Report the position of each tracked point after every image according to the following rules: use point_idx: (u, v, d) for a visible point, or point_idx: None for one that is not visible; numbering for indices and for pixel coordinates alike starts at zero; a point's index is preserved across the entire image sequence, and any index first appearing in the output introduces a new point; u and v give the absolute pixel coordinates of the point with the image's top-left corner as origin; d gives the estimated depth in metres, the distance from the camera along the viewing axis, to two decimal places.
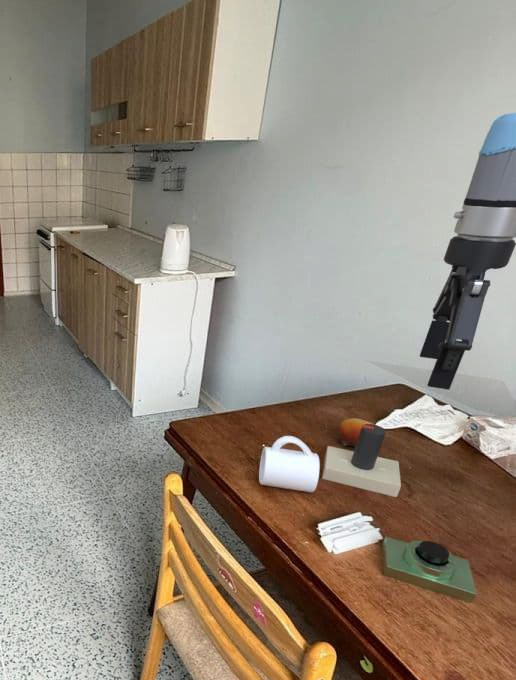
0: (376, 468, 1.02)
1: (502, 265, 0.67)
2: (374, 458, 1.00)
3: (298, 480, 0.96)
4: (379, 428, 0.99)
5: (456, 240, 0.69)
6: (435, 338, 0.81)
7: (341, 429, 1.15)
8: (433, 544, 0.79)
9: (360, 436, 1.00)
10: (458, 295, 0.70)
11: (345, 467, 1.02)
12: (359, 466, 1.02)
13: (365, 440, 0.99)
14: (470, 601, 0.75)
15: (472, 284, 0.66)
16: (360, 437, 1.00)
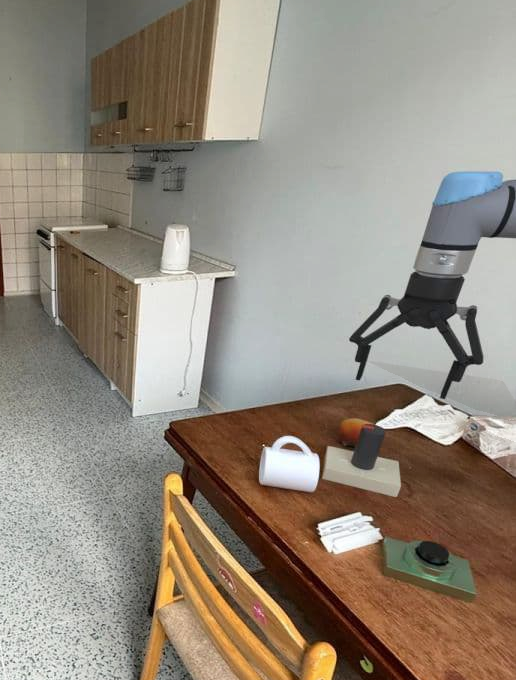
0: (376, 468, 1.02)
1: None
2: (374, 458, 1.00)
3: (298, 480, 0.96)
4: (379, 428, 0.99)
5: (446, 280, 0.77)
6: (366, 361, 0.91)
7: (341, 429, 1.15)
8: (433, 544, 0.79)
9: (360, 436, 1.00)
10: None
11: (345, 467, 1.02)
12: (359, 466, 1.02)
13: (365, 440, 0.99)
14: (470, 601, 0.75)
15: (476, 312, 0.78)
16: (360, 437, 1.00)
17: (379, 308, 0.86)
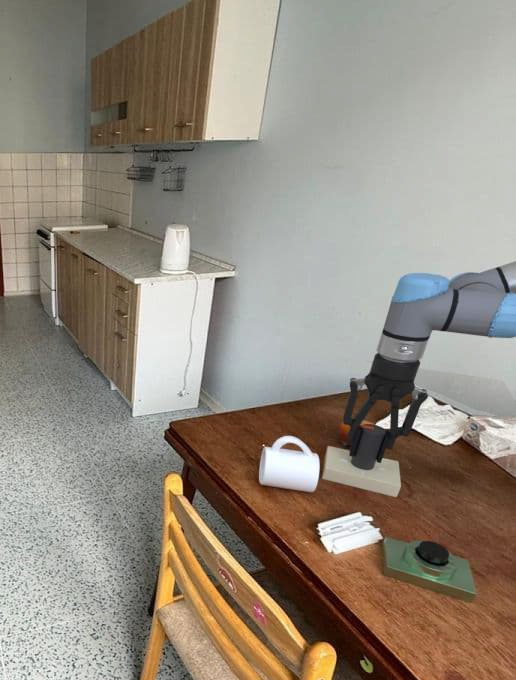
0: (376, 468, 1.02)
1: None
2: (374, 458, 1.00)
3: (298, 480, 0.96)
4: (379, 428, 0.99)
5: (407, 365, 0.88)
6: None
7: (341, 429, 1.15)
8: (433, 544, 0.79)
9: (360, 436, 1.00)
10: (402, 397, 0.93)
11: (345, 467, 1.02)
12: (359, 466, 1.02)
13: (365, 440, 0.99)
14: (470, 601, 0.75)
15: None
16: (360, 437, 1.00)
17: (352, 391, 0.97)
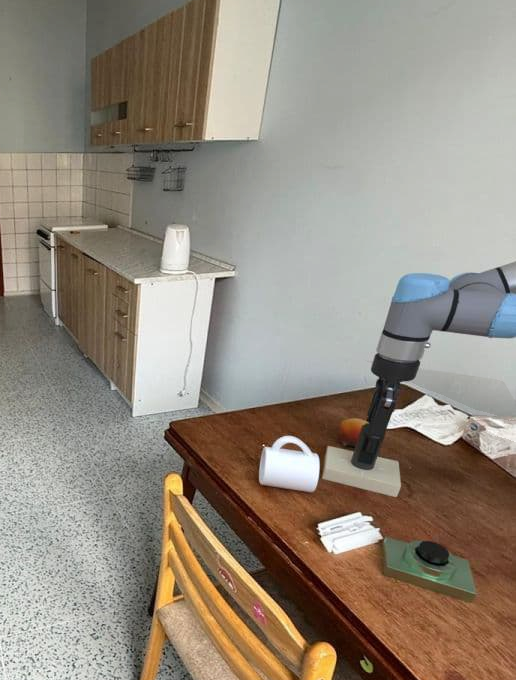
0: (376, 468, 1.02)
1: None
2: None
3: (298, 480, 0.96)
4: (368, 425, 1.00)
5: None
6: None
7: (341, 429, 1.15)
8: (433, 544, 0.79)
9: None
10: None
11: (345, 467, 1.02)
12: (373, 466, 1.02)
13: (381, 442, 0.98)
14: (470, 601, 0.75)
15: None
16: None
17: (393, 408, 0.90)
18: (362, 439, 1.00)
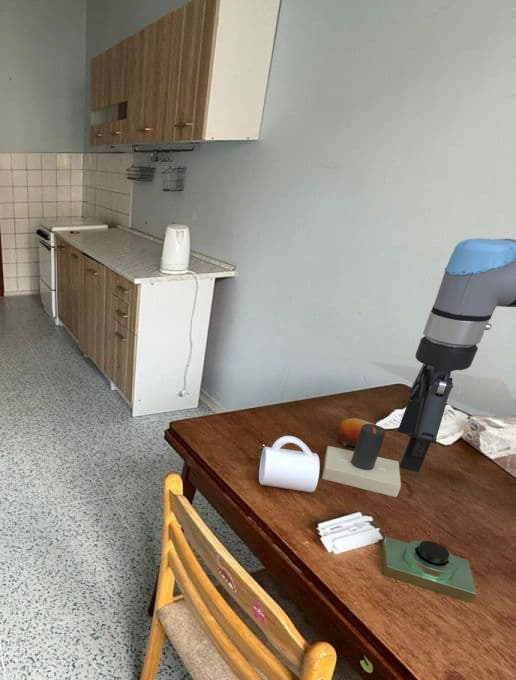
0: (376, 468, 1.02)
1: None
2: None
3: (298, 480, 0.96)
4: (368, 425, 1.00)
5: None
6: None
7: (341, 429, 1.15)
8: (433, 544, 0.79)
9: (376, 442, 0.98)
10: None
11: (345, 467, 1.02)
12: (373, 466, 1.02)
13: (381, 442, 0.98)
14: (470, 601, 0.75)
15: None
16: (376, 443, 0.98)
17: None
18: (362, 439, 1.00)
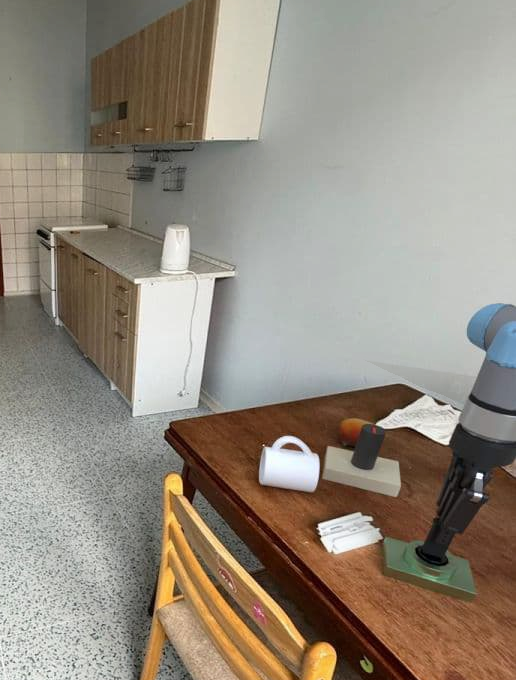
0: (376, 468, 1.02)
1: None
2: None
3: (298, 480, 0.96)
4: (368, 425, 1.00)
5: None
6: None
7: (341, 429, 1.15)
8: None
9: (376, 442, 0.98)
10: None
11: (345, 467, 1.02)
12: (373, 466, 1.02)
13: (381, 442, 0.98)
14: (470, 601, 0.75)
15: None
16: (376, 443, 0.98)
17: None
18: (362, 439, 1.00)
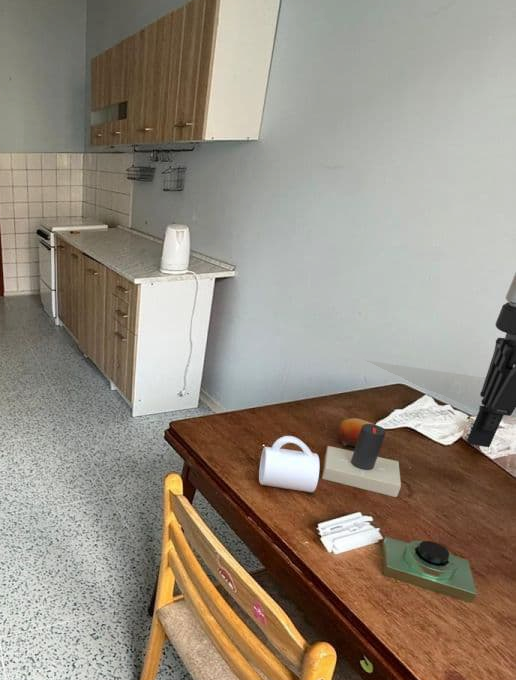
0: (376, 468, 1.02)
1: None
2: None
3: (298, 480, 0.96)
4: (368, 425, 1.00)
5: None
6: None
7: (341, 429, 1.15)
8: (433, 544, 0.79)
9: (376, 442, 0.98)
10: None
11: (345, 467, 1.02)
12: (373, 466, 1.02)
13: (381, 442, 0.98)
14: (470, 601, 0.75)
15: None
16: (376, 443, 0.98)
17: None
18: (362, 439, 1.00)
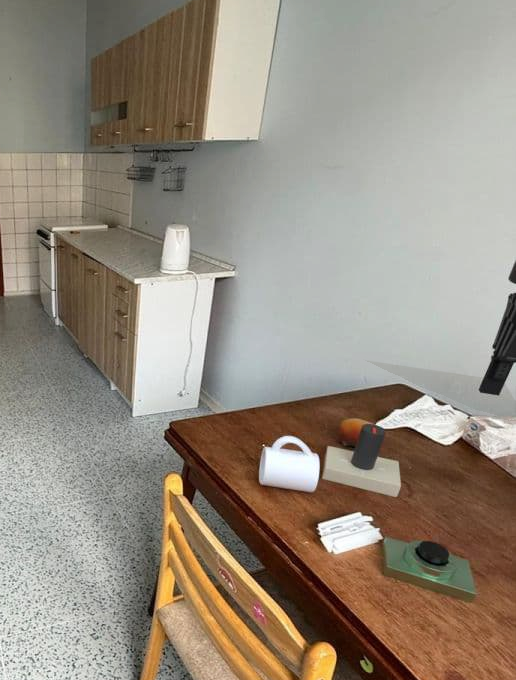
0: (376, 468, 1.02)
1: None
2: None
3: (298, 480, 0.96)
4: (368, 425, 1.00)
5: None
6: None
7: (341, 429, 1.15)
8: (433, 544, 0.79)
9: (376, 442, 0.98)
10: None
11: (345, 467, 1.02)
12: (373, 466, 1.02)
13: (381, 442, 0.98)
14: (470, 601, 0.75)
15: None
16: (376, 443, 0.98)
17: None
18: (362, 439, 1.00)
